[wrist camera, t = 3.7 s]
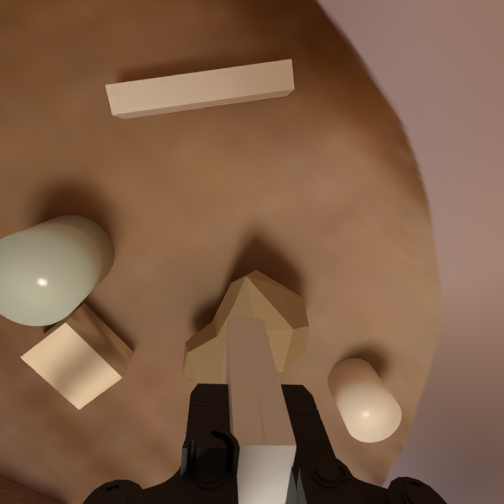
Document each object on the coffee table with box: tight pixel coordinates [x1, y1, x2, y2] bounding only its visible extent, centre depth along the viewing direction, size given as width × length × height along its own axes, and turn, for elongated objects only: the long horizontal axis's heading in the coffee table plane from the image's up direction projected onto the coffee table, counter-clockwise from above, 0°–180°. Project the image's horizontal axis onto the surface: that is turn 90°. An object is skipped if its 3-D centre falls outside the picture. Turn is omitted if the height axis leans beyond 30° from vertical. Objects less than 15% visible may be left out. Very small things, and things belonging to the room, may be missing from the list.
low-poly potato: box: [183, 270, 309, 384], centre depth 36 cm, size 15×11×12 cm
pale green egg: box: [0, 215, 114, 326], centre depth 34 cm, size 8×8×9 cm
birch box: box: [20, 303, 134, 410], centre depth 38 cm, size 8×6×5 cm
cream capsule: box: [328, 358, 402, 443], centre depth 41 cm, size 6×6×7 cm
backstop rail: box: [105, 59, 294, 119], centre depth 33 cm, size 2×16×4 cm, turn 98°
